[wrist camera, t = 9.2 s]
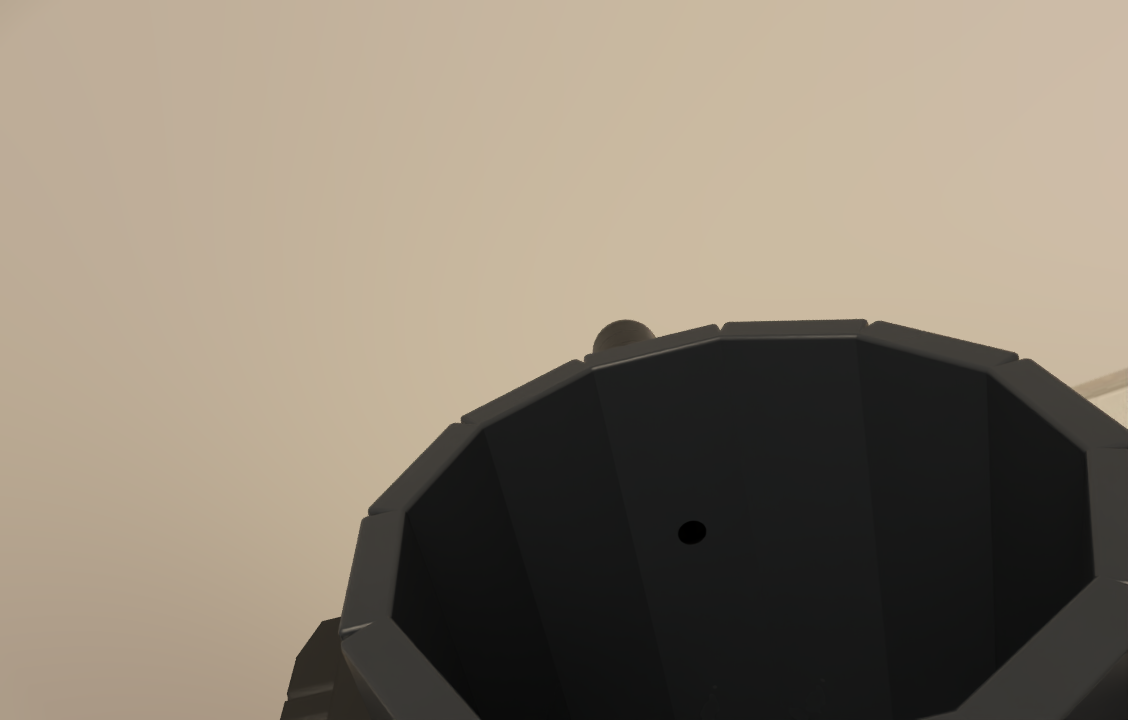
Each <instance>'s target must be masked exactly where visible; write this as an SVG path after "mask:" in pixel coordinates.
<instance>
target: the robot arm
mask: <svg viewBox="0 0 1128 720" xmlns="http://www.w3.org/2000/svg"><path fill="white" fill-rule="evenodd" d="M340 620H341V617H338V618H334V619H330V620H326V621H322V622H321V624H320V625H319V627H318V628H317V629H316V631H315V632H314V633H313V635H312V636H311V638H310V639H309V640H308V642H307V643H306V645H305V646H304V647H303V649H302V650H301V652H300V653H299V654H298V656H297V657H296V661H295V665H294V669H293V673H292V677H291V680H290V684H289V688H288V692H287V696H288V701H285V703H284V707H283V711H282V714H281V718H280V720H371V718H370V716H369V713H368V711H367V709H366V706H365V704H364V702H363V699H362V697H361V695H360V692H359V690H358V688H357V685H356V683H355V681H354V678H353V676H352V674H351V671H350V669H349V667H348V664H347V662H346V660H345V657H344V655H343V653H342V650H341V642H342V641H341V639H340V637H339V634H338V629H339V624H340Z"/></svg>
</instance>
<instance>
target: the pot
mask: <svg viewBox="0 0 1128 720" xmlns="http://www.w3.org/2000/svg"><path fill="white" fill-rule="evenodd" d="M368 515H369V516H367V517H365V518H363V519H362V521H361V526H360V530H359V535H358V540H357V544H356V549H355V554H354V559H353V563H352V568H351V573H350V577H349V582H348V588H347V591H346V596H345V601H344V606H343V610H342V615H341V620H340V624H339V629H338V634H339V637H340V639H341V641H342V642H341V650H342V653H343V655H344V657H345V660H346V662H347V664H348V667H349V669H350V671H351V674H352V676H353V678H354V681H355V683H356V685H357V688H358V690H359V692H360V695H361V697H362V699H363V702H364V704H365V706H366V709H367V711H368V713H369V716H370V718H371V720H1128V429H1126V428H1125V427H1124V426H1122V425H1121V424H1120V423H1118V422H1117V421H1115V420H1114V419H1113V418H1111V417H1110V416H1109V415H1107V414H1106V413H1104V412H1103V411H1102V410H1100V409H1099V408H1098V407H1096V406H1095V405H1093V404H1092V403H1091V402H1089V401H1088V400H1087V399H1085V398H1084V397H1082V396H1081V395H1080V394H1078V393H1077V392H1076V391H1074V390H1073V389H1071V388H1070V387H1069V386H1067V385H1066V384H1065V383H1063V382H1062V381H1060V380H1059V379H1058V378H1056V377H1055V376H1054V375H1052V374H1051V373H1049V372H1048V371H1047V370H1045V369H1044V368H1042V367H1041V366H1040V365H1038V364H1037V363H1036V362H1034V361H1033V360H1031V359H1021V360H1019V356H1018V354H1016V353H1015V352H1011V351H1006V350H1002V349H998V348H994V347H990V346H985V345H981V344H977V343H972V342H969V341H964V340H960V339H956V338H951V337H947V336H943V335H939V334H935V333H930V332H926V331H921V330H918V329H914V328H909V327H905V326H901V325H897V324H892V323H888V322H884V321H876V322H874V323H872V324H870V325H869V326H868V322H867V320H865V319H849V320H848V319H847V320H800V321H754V322H727V323H725V324H724V326H723V327H722V329H721V331H720V330H719V328H718V326H717V325H715V324H712V325H707V326H703V327H699V328H695V329H691V330H687V331H683V332H678V333H674V334H670V335H666V336H662V337H658V338H656V337H655V335H654V334H653V333H652V332H651V330H650V329H649V328H648V327H646V326H645V325H644V324H642V323H639V322H637V321H633V320H619V321H615V322H612V323H611V324H609V325H607V326H606V327H605V328H604V329H602V330H601V332H600V333H599V334H598V336H597V338H596V340H595V342H594V345H593V353H592V354H588V355H586V356H585V357H584V362H582V361H579V360H577V359H576V360H571V361H569V362H567V363H565V364H563V365H561V366H560V367H558V368H556V369H554V370H552V371H550V372H548V373H546V374H544V375H542V376H540V377H538V378H536V379H534V380H532V381H530V382H528V383H526V384H524V385H522V386H520V387H518V388H517V389H514V390H512V391H511V392H508V393H507V394H505V395H503V396H501V397H499V398H497V399H495V400H493V401H491V402H489V403H487V404H485V405H483V406H481V407H479V408H477V409H475V410H473V411H471V412H469V413H468V414H465V415H463V416H462V417H461V423H453V424H451V425H449V426H448V428H447V429H445V431H444V432H443V433H442V434H441V435H440V436H439V437H438V438H437V439H436V440H435V441H434V442H433V443H432V444H431V445H430V446H429V447H428V448H427V449H426V450H425V451H424V452H423V453H422V454H421V455H420V456H419V457H418V458H417V459H416V460H415V462H413V463H412V464H411V465H410V466H409V468H408V469H407V470H405V471H404V472H403V473H402V475H401V476H400V477H399V478H398V479H397V480H396V481H395V482H394V483H393V484H392V485H391V486H390V487H389V488H388V489H387V490H386V491H385V492H384V493H383V494H382V495H381V496H380V497H379V498H378V499H377V500H376V501H375V502H374V503H373V504H372V505H371V506H370V507H369V509H368Z"/></svg>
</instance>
